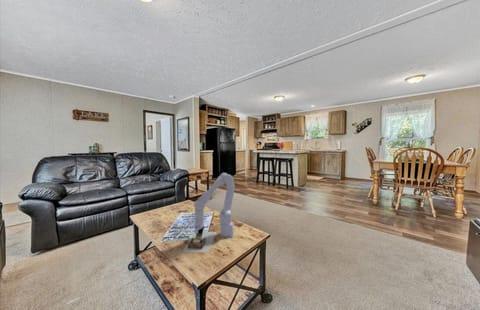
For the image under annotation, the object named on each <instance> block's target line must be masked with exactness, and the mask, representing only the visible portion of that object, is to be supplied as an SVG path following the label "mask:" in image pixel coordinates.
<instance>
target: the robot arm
mask: <svg viewBox="0 0 480 310" xmlns="http://www.w3.org/2000/svg"><path fill="white" fill-rule="evenodd" d="M223 185H226V193H225V198H224V202H223V203H224V204H223V207H222V209H221V211H220V213H219V216H218V218H219V219H220V220H219V221H220V222H219V223H220V225H219V227H220V228H219V231H220V233H219V234H220V237H224V238H226V237H229V238H230V239H233V237H234V233H235V231H234V230H235V229H234V228H235V227H234V223H233V222H232V220H233V219H232V211H231V210H232V209H231V208H232V204H233V203H232V202H233V200H234V199H233V198H234V193H235V188H236V184H235V180H234V177H233V176H232V175H231V174H228V173H227V172H222V173H221V174H220V175H219V176H217V178H216V180H215V181H214V182H213V184H212V185H211V186H210V188H209V189H207V190H205V191H204V192H203V191H202V193H201V194H202V195H200V197H198V198H197V200H195V201H194V202H193V203H194V204H193V206H194V224H193V227H194V232H195V233H201V236H202V233H203V232H204V229H205V215H204V214H205V213H204V212H205V211H204V209H205V205H206V204H207V203H208V201H210V199H211V198H212V197H213V193H214V192H215V191H216V190H217V189H218V188H219V187H220V186H223Z"/></svg>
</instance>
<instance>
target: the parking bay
mask: <svg viewBox="0 0 480 310" xmlns="http://www.w3.org/2000/svg"><path fill="white" fill-rule="evenodd" d="M193 240H194V238H192V239H191V241H190V242H189V244H188V248H195V249H202V248H203V246H204V244H205V238H204V239H203V241H202V242H201V244H198V243H193Z"/></svg>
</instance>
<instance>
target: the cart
mask: <svg viewBox="0 0 480 310" xmlns="http://www.w3.org/2000/svg"><path fill="white" fill-rule="evenodd" d="M202 241H203V239H202V236H201V233H196V237H195V238H194V240H193V243H198V244H201V242H202Z"/></svg>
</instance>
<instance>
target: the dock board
mask: <svg viewBox="0 0 480 310" xmlns="http://www.w3.org/2000/svg"><path fill="white" fill-rule="evenodd" d="M216 234H217V231H203V233H202V239H204V238H205V244H204V246H203V248H202V249H195V248H188V244H189V242H190V241H191V239H192V238H195V237H196V233H195V231H194V232H193V233H192V236H191V237H190V239H189V240H188V241H187V243H186V244H185V247H184V248H183V249H182V251H181V252H182V253H209V251H210V250H211V247H212V244H213V243H214V242H213V241H214V239H215V237H216Z"/></svg>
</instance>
